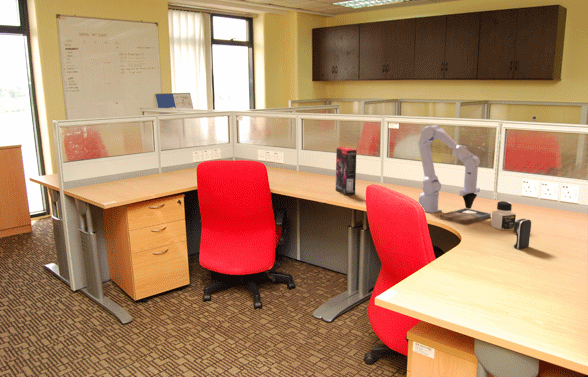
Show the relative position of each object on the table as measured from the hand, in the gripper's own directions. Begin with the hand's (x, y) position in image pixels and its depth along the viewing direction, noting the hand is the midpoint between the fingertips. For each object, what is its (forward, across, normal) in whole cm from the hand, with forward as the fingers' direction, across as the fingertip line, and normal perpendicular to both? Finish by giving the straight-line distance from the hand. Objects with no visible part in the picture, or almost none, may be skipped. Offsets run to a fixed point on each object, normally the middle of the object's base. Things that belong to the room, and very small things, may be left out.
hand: (468, 208), depth 229 cm
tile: (+4, +1, 0) cm, 4 cm away
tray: (+4, +3, 0) cm, 5 cm away
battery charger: (+4, -24, -38) cm, 45 cm away
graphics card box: (+5, -7, +79) cm, 79 cm away
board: (+4, -8, 0) cm, 9 cm away
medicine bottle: (+5, -4, -20) cm, 21 cm away
